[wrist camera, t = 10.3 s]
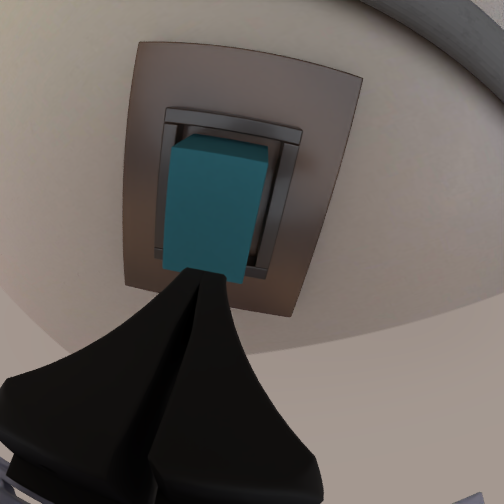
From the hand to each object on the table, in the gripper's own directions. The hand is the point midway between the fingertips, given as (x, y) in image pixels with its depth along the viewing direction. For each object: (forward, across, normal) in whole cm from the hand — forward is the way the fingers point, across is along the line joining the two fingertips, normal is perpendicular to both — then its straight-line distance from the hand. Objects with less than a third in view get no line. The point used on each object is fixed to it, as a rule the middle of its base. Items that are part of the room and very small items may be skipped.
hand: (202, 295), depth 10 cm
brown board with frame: (+9, 0, -1) cm, 9 cm away
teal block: (+8, +1, -1) cm, 8 cm away
